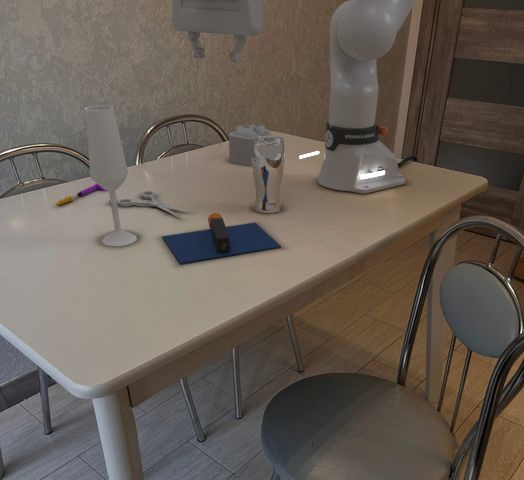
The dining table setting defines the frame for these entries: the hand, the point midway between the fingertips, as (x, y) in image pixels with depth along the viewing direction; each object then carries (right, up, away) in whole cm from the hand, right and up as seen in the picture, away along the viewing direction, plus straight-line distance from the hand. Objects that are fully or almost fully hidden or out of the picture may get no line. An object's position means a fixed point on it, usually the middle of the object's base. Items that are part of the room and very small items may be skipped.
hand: (217, 59), depth 107 cm
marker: (+1, -37, -3) cm, 37 cm away
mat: (+1, -37, -3) cm, 37 cm away
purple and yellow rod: (-33, -22, +19) cm, 44 cm away
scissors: (-15, -26, +13) cm, 33 cm away
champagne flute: (-19, -36, -1) cm, 41 cm away
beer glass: (+10, -27, +13) cm, 31 cm away
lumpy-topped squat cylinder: (+6, -3, +47) cm, 47 cm away
